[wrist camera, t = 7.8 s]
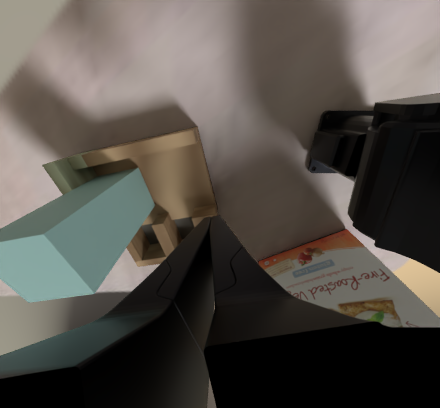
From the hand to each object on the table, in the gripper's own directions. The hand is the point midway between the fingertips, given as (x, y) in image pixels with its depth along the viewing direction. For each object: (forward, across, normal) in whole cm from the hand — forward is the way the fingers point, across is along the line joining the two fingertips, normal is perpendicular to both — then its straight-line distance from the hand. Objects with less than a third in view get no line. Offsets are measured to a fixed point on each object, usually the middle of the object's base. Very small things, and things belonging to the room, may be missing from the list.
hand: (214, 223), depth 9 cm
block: (+12, +11, +1) cm, 17 cm away
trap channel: (+13, +8, +4) cm, 16 cm away
